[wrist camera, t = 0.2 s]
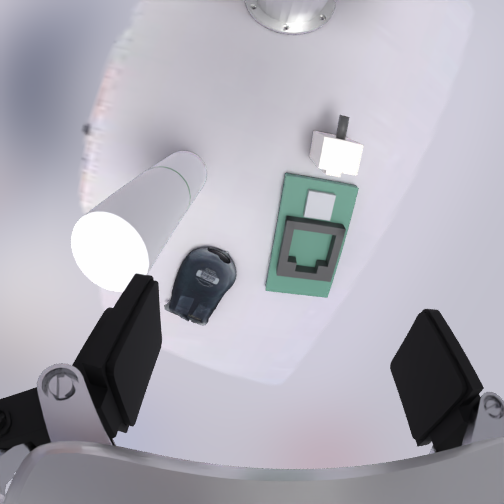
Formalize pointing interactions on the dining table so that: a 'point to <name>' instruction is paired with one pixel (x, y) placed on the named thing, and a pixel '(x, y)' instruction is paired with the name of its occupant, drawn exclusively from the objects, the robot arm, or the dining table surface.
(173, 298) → the electronic device
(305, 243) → the circuit board
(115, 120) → the dining table surface
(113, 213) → the cylindrical container
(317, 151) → the keyed plug
